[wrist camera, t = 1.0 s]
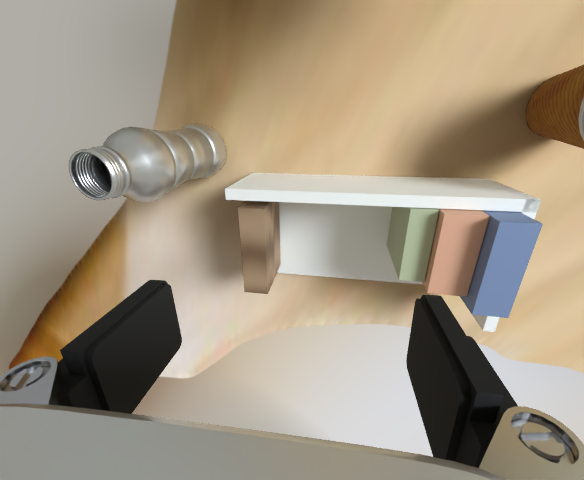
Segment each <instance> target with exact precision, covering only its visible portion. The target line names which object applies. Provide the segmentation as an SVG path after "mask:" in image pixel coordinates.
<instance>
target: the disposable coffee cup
mask: <svg viewBox="0 0 584 480" xmlns="http://www.w3.org/2000/svg"><path fill="white" fill-rule="evenodd" d="M526 120H527V124H528V126H529V128H530V129H531V130H532V131H533V132H535V133H536V134H538V135H541V136H544V137H548V138H551V139H554V140H558V141H561V142H564V143H567V144H571V145H574V146H577V147H580V148H583V149H584V65H582V66H579V67H577V68H574V69H572V70H569V71H567V72H564V73H562V74H559V75H556V76H554V77H552V78H550V79H549V80H547V81H546V82H544V83H543V84H542V85H541V86H540V87H539V88H538V89H537V90H536V91H535V92H534V94H533V95H532V97H531V98H530V100H529V103H528V105H527V109H526Z"/></svg>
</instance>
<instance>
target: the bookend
mask: <svg viewBox="0 0 584 480" xmlns="http://www.w3.org/2000/svg"><path fill="white" fill-rule="evenodd" d="M238 218H239V230H240V242H241V254H242V266H243V278H244V290H245V292H252V293H263V294H268V292H269V290H270V287H271V285H272V283H273V281H274V278H275V276H276V274H277V271H278V269H279V267H280V264H281V259H280V215H279V202H268V201H246V202H245V203H243V204H242V205H241V206H240V207H238Z"/></svg>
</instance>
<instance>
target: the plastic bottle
mask: <svg viewBox="0 0 584 480" xmlns="http://www.w3.org/2000/svg"><path fill="white" fill-rule="evenodd" d="M225 161H226V146H225V143H224V141H223V139H222V137H221V136H220V135H219V133H218V132H217V131H216V130H214V129H213V128H211V127H209V126H206V125H203V124H197V123H196V124H190V125H188V126H185V127H183V128H181V129H178V130H174V131H156V130H150V129H144V128H136V127H128V128H123V129H120V130H118V131H117V132H115V133H113V134H111V135H110V136H109V137H108V138H107V139H106V141H105V142H104V144H103V146H100V147H93V148H91V149H83V150H79V151H77V152H75V153H74V154H73V155H72V156H71V158H70V161H69V172H70V176H71V178H72V180H73V182H74V184H75V185H76V187H77V188H78V189H79V190H80V191H81V192H82V193H83V194H84V195H85V196H87V197H89V198H91V199H94V200H105V199H108V198H116V197H119V196H124V197H127V198H129V199H131V200H134V201H143V202H148V201H155V200H158V199H160V198H161V197H163V196H165V195H166V194H168V193H169V192H170V191H172V190H173V189H174V188H176V187H177V186H178V185H180V184H182V183H184V182H186V181H187V180H191V179H195V178H206V177H211V176H213V175H215V174H216V173H217V172H218V171H219V170H220V169H221V168H222V167H223V165H224V163H225Z"/></svg>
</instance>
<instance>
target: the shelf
mask: <svg viewBox="0 0 584 480" xmlns="http://www.w3.org/2000/svg"><path fill="white" fill-rule="evenodd" d="M225 196H226V200H244V201H268V202H279V215H280V259H281V264H280V267H279V269H278V271H277V273H286V274H299V275H311V276H324V277H336V278H348V279H361V280H373V281H385V282H398V283H410V284H422V285H424V288H425V290H426V292H427V293H431V294H443V295H455V296H460V297H461V299H462V300H463V302H464V303H465V305H466V306H467V308H468V309H469V311H470V312H471V314H472V315H473V316H474V318H475V320H476V321H477V323H478V324H479V326H480V327H481V329H482V330H483V331H492V332H495V329H496V326H497V324H498V321H499V318H500V317H504V318H508V317H509V314H510V311H511V309H512V306H513V303H514V300H515V298H516V295H517V292H518V290H519V287H520V284H521V281H522V279H523V276H524V273H525V270H526V268H527V265H528V262H529V260H530V257H531V254H532V251H533V249H534V246H535V243H536V240H537V238H538V235H539V232H540V230H541V227H542V223H540V222H538V221H536V220H534V218H535V216H536V213H537V210H538V207H539V204H540V201H541V200H540V199H538V198H535V197H533V196H530V195H528V194H525V193H523V192H520V191H518V190H515V189H513V188H511V187H508V186H506V185H503V184H501V183H498V182H496V181H493V180H491V179H477V178H438V177H398V176H358V175H318V174H278V173H251V174H250V175H248V176H246V177H244V178H243V179H241V180H239V181H237V182H236V183H234V184H232V185H230V186H229V187H227V188H225Z"/></svg>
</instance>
